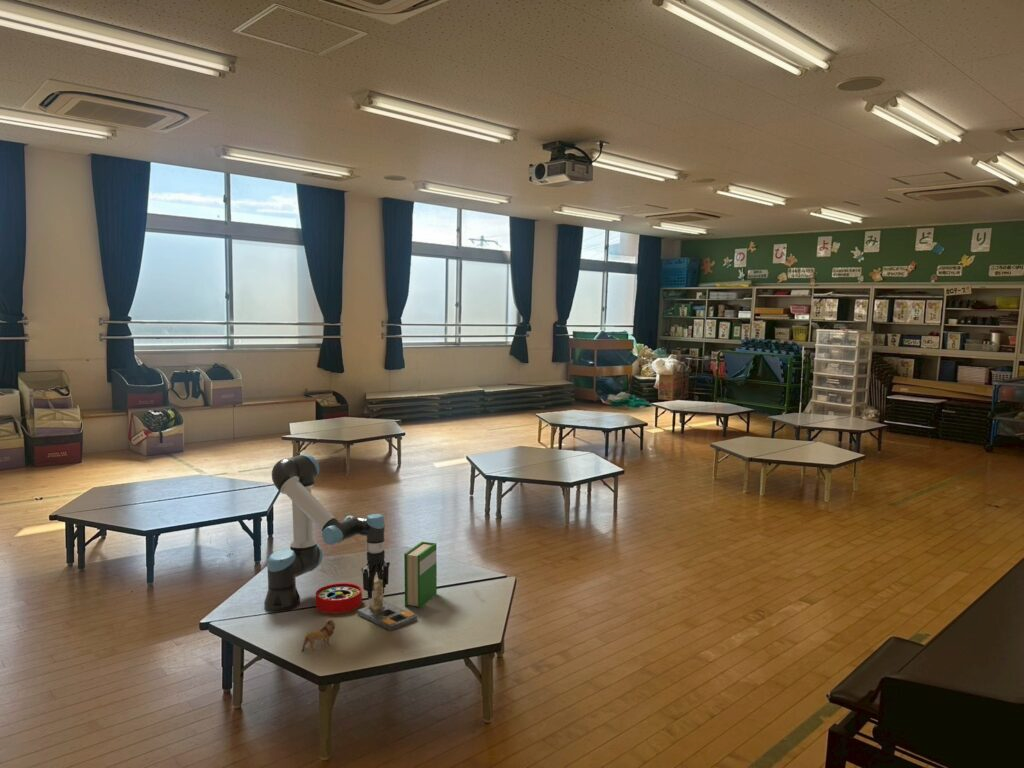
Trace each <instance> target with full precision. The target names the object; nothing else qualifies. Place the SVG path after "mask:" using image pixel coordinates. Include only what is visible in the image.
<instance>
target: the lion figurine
mask: <svg viewBox="0 0 1024 768" xmlns="http://www.w3.org/2000/svg"><path fill="white" fill-rule="evenodd" d="M324 623H325V624H324V625H323V627H322V628H321V629H319V630H317V631H309V632H308V633H306V635H305V637H304V640H303V644H302V649H301V653H303V652H304V651H305V650H307V647H306V646H307V644H310V645H309V647H310V649H311V650H312V651H314V652H315V651H317V650H316V648H315V647H314V643H315V641H322V642H321V643H322V644H323V645H325V644H326V646H328V647H329V646H331V644H330V637H332V636H333V634H334V632H335V628H336V623H335V620H334V619H328V620H326V621H325V622H324Z"/></svg>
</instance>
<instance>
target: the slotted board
mask: <svg viewBox="0 0 1024 768" xmlns="http://www.w3.org/2000/svg"><path fill="white" fill-rule="evenodd" d="M356 614H357V615H358V616H359V617H362V618H363V619H366V620H368V621H370V622H371V623H374V624H376V625H377V626H380V627H381V628H383V629H386V630H387V631H390V632H391V631H394V630H396V629H399V628H401V627H404V626H407V625H409V624H412V623H414V622H417V621H418V615H416V614H414V613H412V612H410V611H408V610H405V609H403V608H402V607H399V606H397V605H395V604H392V603H390V602H389V601H386V600H383V609H381V610H378V611H376V612H375V611H373V610H371V609H370V605H368V606H365V607H362V608H360V609H357V613H356ZM386 615H387V616H386ZM397 620H399V621H397Z"/></svg>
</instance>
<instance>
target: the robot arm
mask: <svg viewBox="0 0 1024 768" xmlns="http://www.w3.org/2000/svg"><path fill="white" fill-rule="evenodd" d="M319 465H320V464H319V463H318V461H317V459H316V458H315V457H314V456H312V455H311V454H307V453H306V454H299V455H295V456H292V457H288V458H287V457H286V458H283V459H280V460H278V461H277V462H276V463H275V464H274V466H273V467H272V470H271V480H272V484H273V485H274V486H275V488H276V489H277V490H278V491H279V492H280V493H281V494H282V495H286V496H287V497H289V499H290V500H291V501H292V502H291V507H292V509H291V511H292V530H293V540H292V542H291V543H290V545H289V546H290V549H286V548H285V549H282V550H278V551H275V552H272V553H271V554H270V555H269V556H268V558H267V565H266V568H267V591H266V595H265V598H264V602H263V603H264V606H263V607H264V609H265V610H266V611H268V612H276V613H280V612H286V611H287V612H288V611H290V610H294V609H296V608H297V607H299V606H300V605H301V597H300V594H299V591H298V589H297V584H296V582H297V581H296V579H297V578H298V577H300V576H302V575H304V574H306V573H308V572H312V571H314V570H315V569H317V568H318V567H319V566H320V565H321V564H322V561H323V557H324V556H323V555H324V554H323V549H322V548H321V546H320V545H319V544H318V542H317V540H316V539H315V538H314V531H313V530H314V526H313V523H314V525H315V526H317V527H318V529H320V531H322V533H321V537H322V539H323V542H324V543H325V544H327V545H331V546H332V545H336V544H338V543H341V542H343V541H344V540H347V539H350V538H353V537H355V536H357V535H359V536H364V537H366V560H367V563H366V566H365V567H362V568H361V572H362V584H363V585H362V586H363V588H362V589H363V590H364V591H366V592H367V598H368V604H369V606H370V605H372V606H374V591H373V584H374V578H376V577H375V576H376V574H377V578H379V579H381V580H383V595H384V594H385V588H386V587H387V585H389V571H390V570H389V567H390V564H391V563H390V562H389V561H387V560H385V559H386V558H385V557H386V555H385V554H386V553H385V526H386V523H385V517H384V515H383V514H381V513H371V514H368V515H366V517H363V516H358V515H346V516H345V518H344V519H343V520H342V521H339V520H338V519H337V518H336V517H335V516H334V515H333V514H332V513H331V512H330V511H329V510H328V509H327V508H326V507H325V506H324V505H323V504H322V503H321V502H320V501H319V500H318V499H317V498H316V496H314V495H313V494H312V487H314V485H315V478H317V477H318V475H319V473H320V466H319Z"/></svg>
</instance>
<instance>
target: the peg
mask: <svg viewBox="0 0 1024 768" xmlns="http://www.w3.org/2000/svg"><path fill="white" fill-rule="evenodd" d="M373 591H374V606H372V605H370V604H369V606H370V609H371V610H373V611H375V612H376V611H378V610H381V609H383V601H384V594H383V580H381V579H379V578H378V577H374V584H373Z"/></svg>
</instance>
